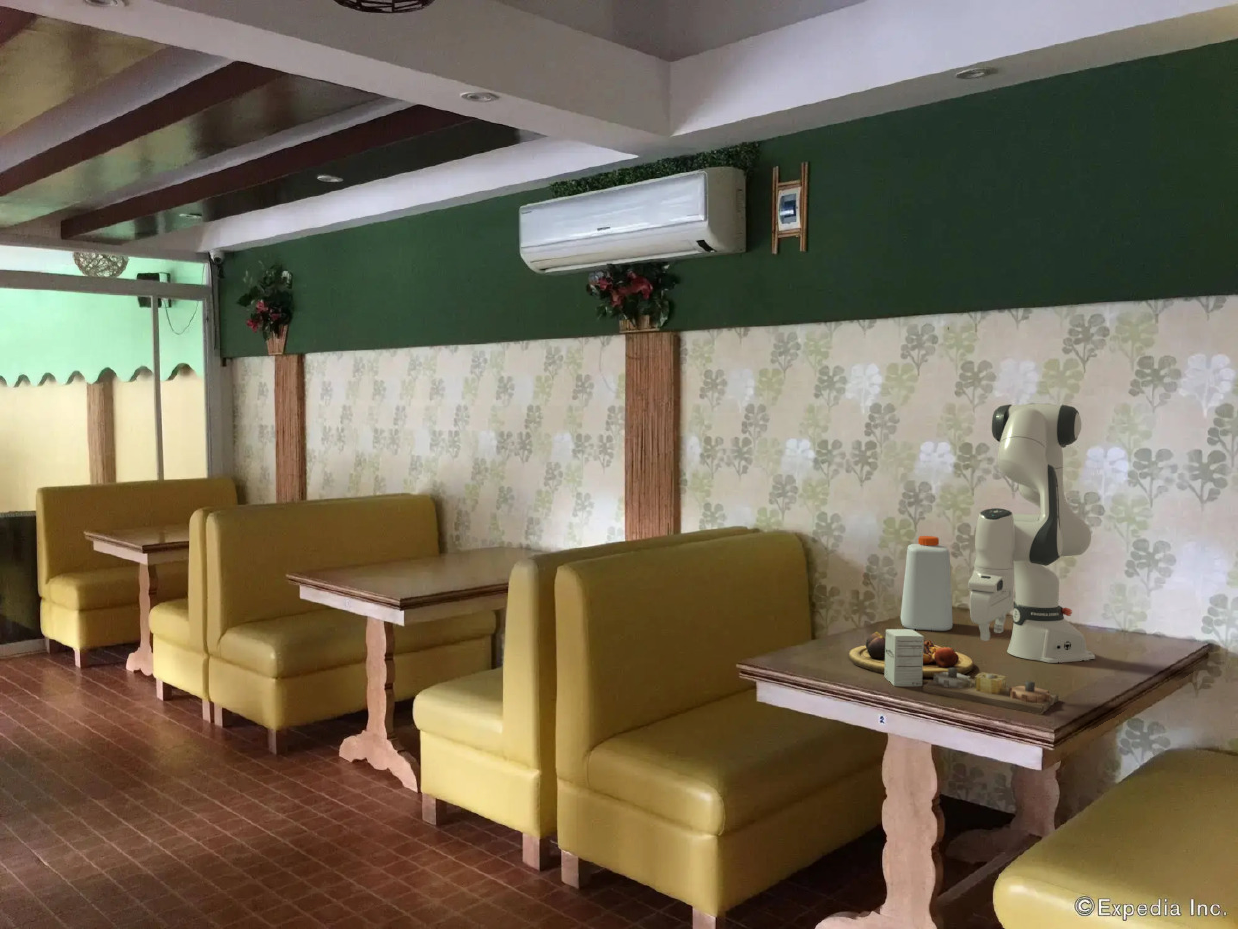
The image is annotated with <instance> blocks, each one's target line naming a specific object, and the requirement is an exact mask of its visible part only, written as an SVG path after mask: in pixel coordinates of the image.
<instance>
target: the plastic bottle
mask: <svg viewBox="0 0 1238 929" xmlns="http://www.w3.org/2000/svg"><path fill="white" fill-rule="evenodd" d="M939 541H940V539H939V537H938V536H932V535H921V536H919V537H918V541H917V542H918V543H911V544H909V545H908V546H907V548H906V558H905V559H906V561H905V571H904V578H903V587H902V599H901V610H900V623H901V624H902V626H903V627H904V628H905V629H912V630H915V629H916V630H917V631H918V630H919V631H931V630H932V631H931V632H933V631H935V632H936V631H937V632H946V631H950V630H951V629H952V628H953V605H952V604H953V603H952V602H953V601H952V581H951V579H952V578H951V575H952V574H951V556H950V555H951V554H950V550H949V548H948V547H947V546H945V545H942V544H939Z"/></svg>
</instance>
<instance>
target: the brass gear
mask: <svg viewBox="0 0 1238 929" xmlns="http://www.w3.org/2000/svg"><path fill="white" fill-rule="evenodd" d="M986 674H992V675H995V678H986ZM974 679H975V690H976V691H980V692H985V693H991V694H999V693H1002V692H1004V691H1005V685H1007V684H1006V683H1007V681H1006V679H1007V676H1005V675H1001V674H997V673H990V672H985V671H984V672H981V673H980V672H979V673H977V674H976V675H975V676H974Z"/></svg>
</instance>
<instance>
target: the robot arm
mask: <svg viewBox="0 0 1238 929" xmlns="http://www.w3.org/2000/svg"><path fill="white" fill-rule="evenodd" d="M990 430H991V434H992V437H993V438H994V439H995V440H996V441H997V442H999V445H998V450H997V465H998V468H999V469H1000V471H1001V473H1002V474H1003V475H1004V476H1005V477H1006V478H1008V479H1009V480H1010V481H1012V482H1014V483H1016V484H1018V491H1019V494H1020V495H1021V497H1022V498H1023V499H1024V500H1026V501H1028V502H1029V503H1031V504H1033V505H1035V506H1037V507H1038V508H1039V509H1040V514H1032V513H1031V514H1028V513H1013V512H1011V511H1010V510H1009V509H1005V508H998V507H997V508H996V507H995V508H993V507H992V508H987V509H983V510H982V511H980V512H979V513H978V518H977V521H976V526H975V534H974V535H975V538H974V548H975V553H976V554H975V555H976V556H975V560H974V562H973V563H974V564H973V566H974V567H973V568H974V569H973V573H972V574H971V577H970V579H968V582H967V583H968V584H967V588H968V590H970V594H969V611H970V612H969V616H970V620H971V622H972V623H973V624H977V625H978V629H979V632H980V640H981V641H984V642H988V641H989V640H990V639H991V632H990V626H991V624H990V623H992V622H993V621H995V622H994V624H993V633H995V634H1001V633H1003V632H1004V625H1005V622H1006V618H1007V614H1008V613H1010V612H1012V622H1013V627H1012V630H1011V632H1012V633H1011V638H1010V641H1009V644H1008V647H1007V651H1006V652H1007V653H1008V654H1010V655H1012V656H1014V657H1017V658H1021V659H1026V660H1033V661H1038V662H1039V661H1040V662H1044V663H1049V664H1058V662H1059V663H1070V662H1080V661H1081V662H1083V661H1082V660H1084V661H1090V660H1089V659H1095V660H1096V656H1095V654H1094V653H1093V652H1092V651H1089V650H1087V644H1086V639H1085V636H1084V635H1083V634H1082V632H1080V630H1078V629H1077V628H1076V627H1074V626H1073V625H1072V624H1071V623H1069V621H1067V620H1066V619H1065V616H1067V617H1071V616H1072V614H1073V610H1072V609H1071V608H1068V607H1062V606H1061V605H1059V602H1060V601H1059V600H1060V599H1059V598H1060V596H1059V595H1060V580H1059V577H1058V576H1057V575H1056V573H1055V572H1054V571H1052V570H1051V569H1049V568H1047V567H1046V566H1049V565H1051V564H1053V563H1054V562H1057V560H1058V559H1060V558H1061V557H1073V556H1079V555H1083V554H1084V553H1085V552H1086V551H1087V550H1088V549H1089V547H1090V546H1091V541H1092V532H1091V530H1090V527H1089V525H1088V524H1087V523H1086V521H1084V520H1083V519H1082V518H1080V517H1079V516H1078V515H1077V514H1076V513H1075V512H1074V511H1073V510H1072V508H1071V507H1070V506H1069V503H1068V502H1067V499H1066V497H1065V490H1064V476H1063V474H1064V473H1063V472H1064V456H1063V455H1064V452H1063V449H1064V448H1066V447H1067V446H1071V445H1072V444H1073V443H1075V442H1076V441H1077V440H1078V439H1079V435H1080V433H1081V431H1082V420H1081V416H1080V412H1079V411H1078V409H1077V408H1076V407H1073V406H1070V405H1065V404H1062V405H1057V404H1050V403H1049V404H1048V403H1029V404H1014V405H1012V404H1005V405H1000V406H998V407H997V408H996V409H995V410H994V412H993V414H992V417H991V420H990ZM1014 587H1015V594H1014ZM1014 596H1015V598H1014Z"/></svg>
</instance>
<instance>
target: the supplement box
mask: <svg viewBox="0 0 1238 929" xmlns="http://www.w3.org/2000/svg"><path fill="white" fill-rule="evenodd" d="M924 636H925V635H922V634H920V632H918V631H915V629H909V628H904V629H902V628H897V629H895V628H894V629H893V628H891V629H890V628H889V629H888V628H887V629H885V638H886V642H885V672H884V673H883V674H884V676H883V678H884V677H885V678H886V679H885V678H884V679H885V680H886V681H888V682H889V681H890V682H891V683H890V682H889V683H890V684H892V685H893V686H894V687H923V677H922V674H923V647H924V640H925V638H924Z"/></svg>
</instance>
